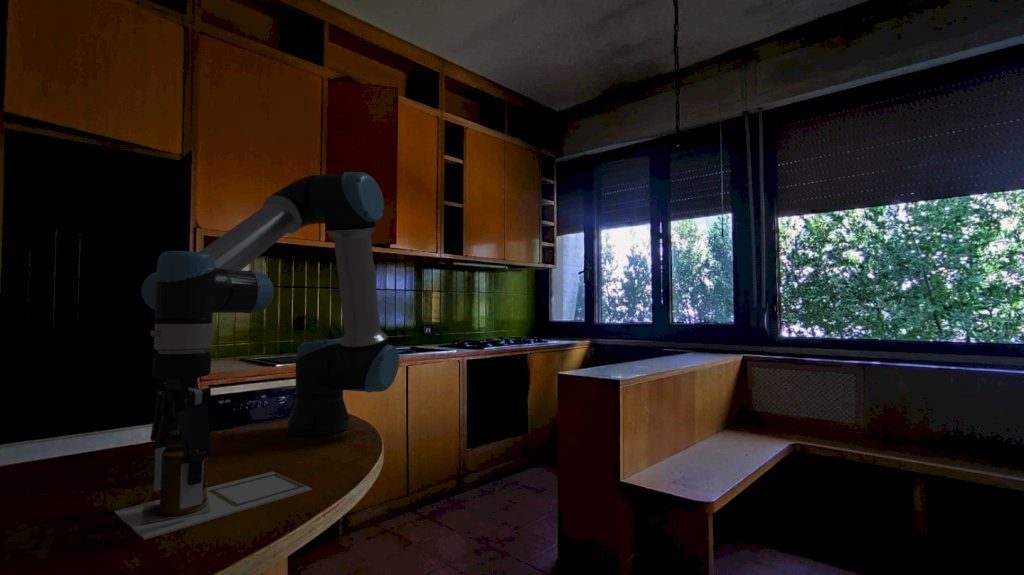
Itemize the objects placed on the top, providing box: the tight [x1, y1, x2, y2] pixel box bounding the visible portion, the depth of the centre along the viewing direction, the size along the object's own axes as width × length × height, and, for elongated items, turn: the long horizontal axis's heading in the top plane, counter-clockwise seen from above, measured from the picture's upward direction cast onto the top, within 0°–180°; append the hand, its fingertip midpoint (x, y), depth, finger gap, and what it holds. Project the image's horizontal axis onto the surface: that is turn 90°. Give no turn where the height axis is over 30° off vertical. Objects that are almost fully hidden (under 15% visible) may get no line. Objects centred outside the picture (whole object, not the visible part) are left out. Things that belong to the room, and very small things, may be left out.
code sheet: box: [114, 471, 313, 541], centre depth 80 cm, size 24×14×1 cm, turn 142°
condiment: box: [141, 429, 210, 524], centre depth 76 cm, size 7×8×12 cm
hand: (177, 496), depth 76 cm, fingers open, 10 cm apart
